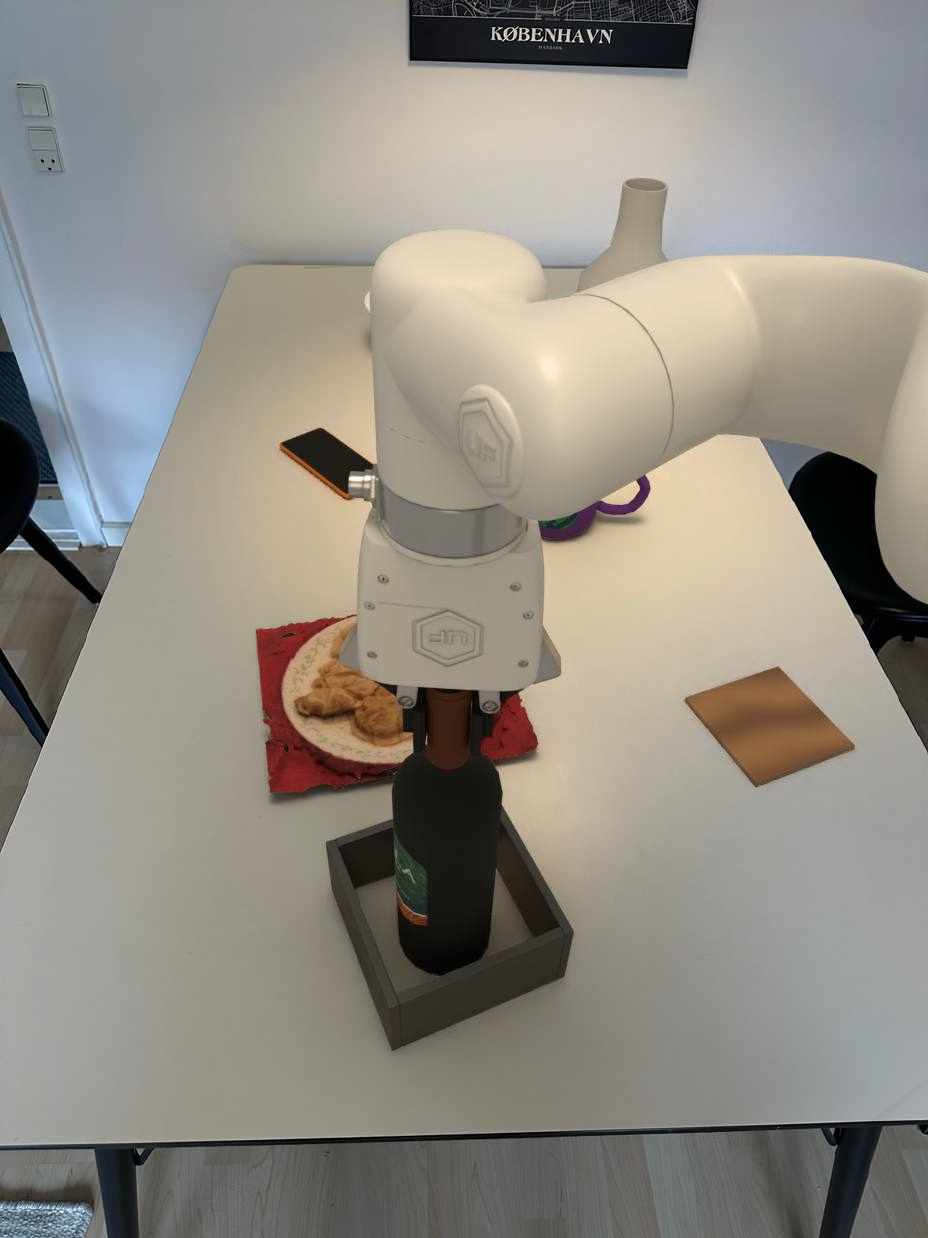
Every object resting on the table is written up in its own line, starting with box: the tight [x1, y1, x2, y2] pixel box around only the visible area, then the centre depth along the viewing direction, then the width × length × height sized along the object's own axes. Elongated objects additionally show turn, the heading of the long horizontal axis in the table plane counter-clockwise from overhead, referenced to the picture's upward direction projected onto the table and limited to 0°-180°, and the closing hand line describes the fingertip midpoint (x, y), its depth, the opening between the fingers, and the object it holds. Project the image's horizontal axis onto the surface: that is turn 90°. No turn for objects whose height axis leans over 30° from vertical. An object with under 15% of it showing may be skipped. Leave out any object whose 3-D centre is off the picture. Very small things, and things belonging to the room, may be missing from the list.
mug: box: [538, 474, 652, 540], centre depth 113 cm, size 17×11×10 cm, turn 86°
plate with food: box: [255, 613, 541, 794], centre depth 92 cm, size 24×26×4 cm
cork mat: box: [684, 666, 856, 787], centre depth 91 cm, size 12×12×1 cm
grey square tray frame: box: [325, 805, 575, 1051], centre depth 72 cm, size 15×15×7 cm
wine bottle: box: [391, 687, 504, 976], centre depth 64 cm, size 8×8×30 cm
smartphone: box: [278, 427, 375, 499], centre depth 125 cm, size 8×17×1 cm, turn 41°
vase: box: [576, 177, 669, 293], centre depth 140 cm, size 17×16×28 cm
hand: (448, 735), depth 57 cm, fingers closed on wine bottle, 2 cm apart
